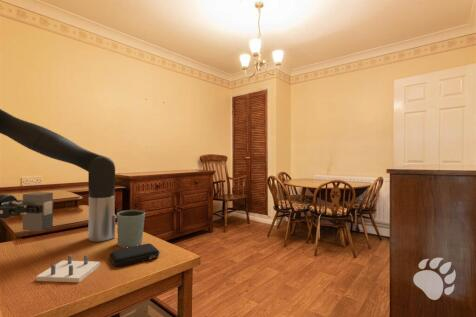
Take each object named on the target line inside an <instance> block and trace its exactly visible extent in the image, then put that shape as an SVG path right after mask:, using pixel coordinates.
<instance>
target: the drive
mask: <svg viewBox="0 0 476 317" xmlns="http://www.w3.org/2000/svg"><path fill="white" fill-rule="evenodd" d="M53 194H54V192H49V191H48V192H47V191H44V192H41V191H32V192H28V193H27V192H26V193H23V194H22V199H23V205H28V206H41V207H42V212H41V213H39V214H36V213H28V214H22V231H34V232H37V231H38V232H40V231H41V232H43V231H45V230H48V229H50V228H52V227H54V226H53V225H54V224H53V223H54V217H53V216H54V215H53V214H54V213H53V212H54V209H53V203H54V195H53Z"/></svg>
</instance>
